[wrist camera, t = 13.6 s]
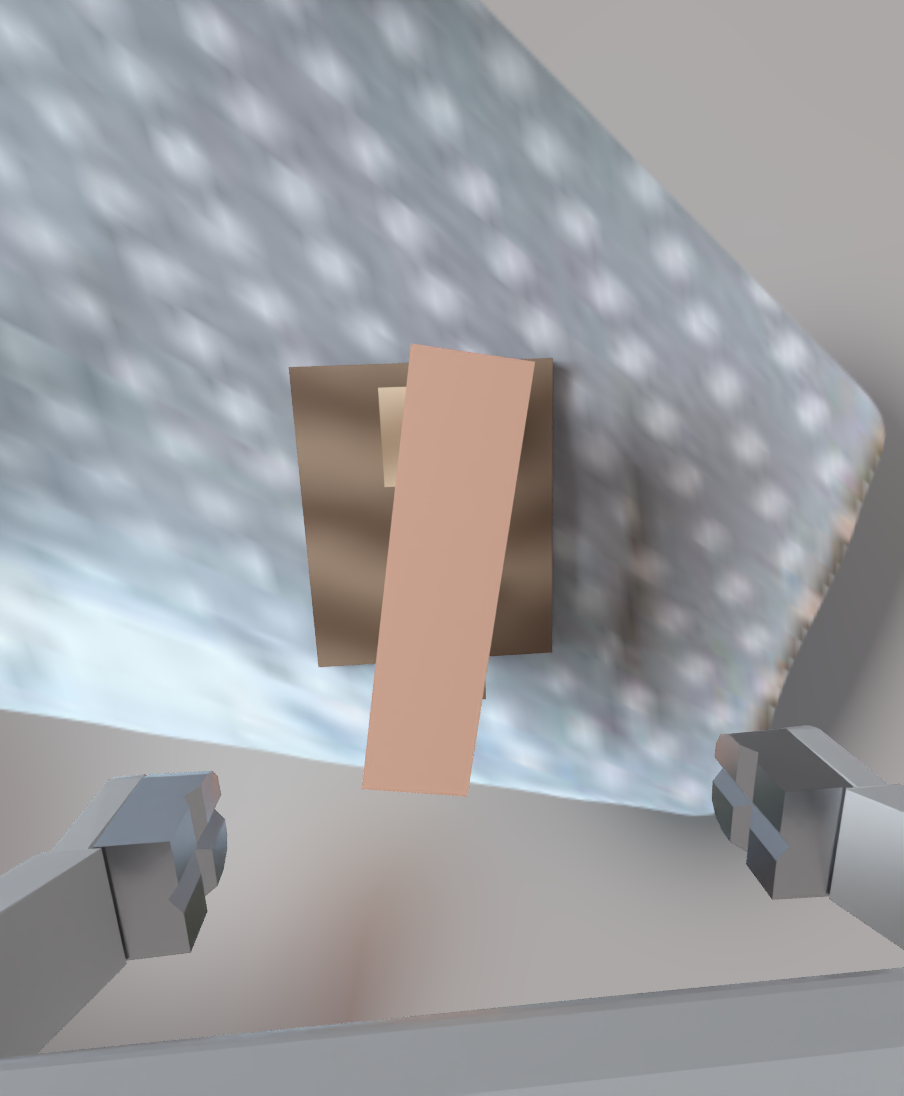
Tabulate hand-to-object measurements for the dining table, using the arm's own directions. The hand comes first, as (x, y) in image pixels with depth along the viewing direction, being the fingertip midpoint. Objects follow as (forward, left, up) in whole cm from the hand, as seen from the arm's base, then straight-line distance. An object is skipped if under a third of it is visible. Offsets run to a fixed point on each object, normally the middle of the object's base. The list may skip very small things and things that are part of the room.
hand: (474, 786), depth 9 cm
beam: (0, 0, -16) cm, 16 cm away
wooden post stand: (0, 0, -26) cm, 26 cm away
